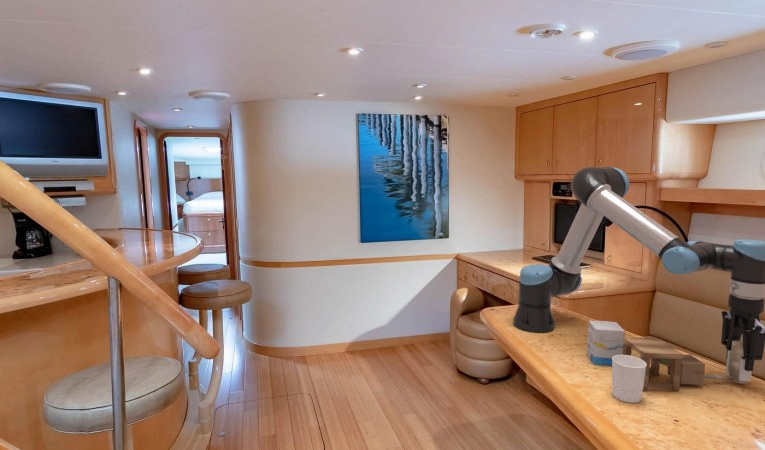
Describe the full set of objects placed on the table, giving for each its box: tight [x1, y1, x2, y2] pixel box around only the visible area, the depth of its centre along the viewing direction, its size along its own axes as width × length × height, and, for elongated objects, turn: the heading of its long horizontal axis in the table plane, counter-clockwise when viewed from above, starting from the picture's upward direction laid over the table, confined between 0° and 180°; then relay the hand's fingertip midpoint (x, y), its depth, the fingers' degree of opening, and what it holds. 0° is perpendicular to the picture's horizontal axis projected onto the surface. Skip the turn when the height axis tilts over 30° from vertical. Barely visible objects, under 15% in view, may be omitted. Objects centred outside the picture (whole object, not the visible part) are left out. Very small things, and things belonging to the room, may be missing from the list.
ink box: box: [586, 320, 626, 367], centre depth 135 cm, size 8×8×12 cm
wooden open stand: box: [623, 337, 684, 393], centre depth 121 cm, size 11×10×11 cm
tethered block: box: [667, 339, 750, 385], centre depth 120 cm, size 6×20×11 cm, turn 87°
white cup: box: [611, 355, 647, 404], centre depth 113 cm, size 8×8×10 cm
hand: (737, 376), depth 120 cm, fingers closed on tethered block, 4 cm apart
